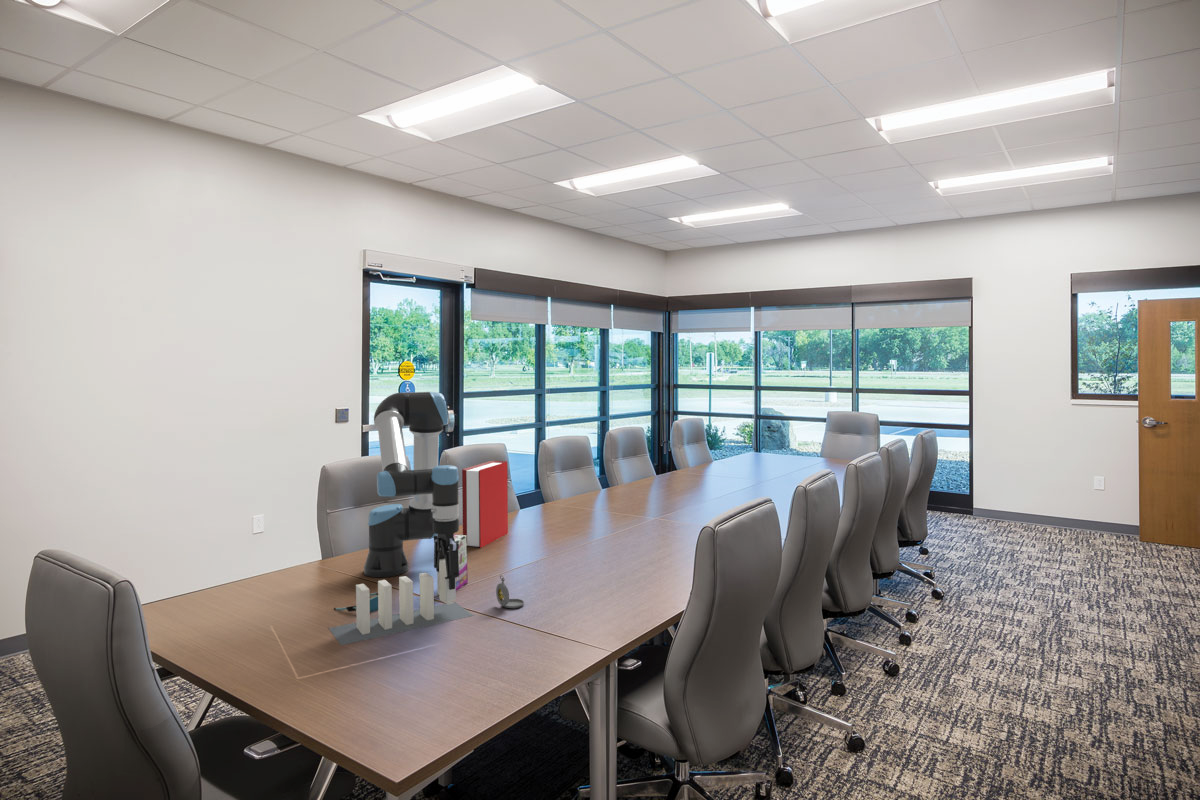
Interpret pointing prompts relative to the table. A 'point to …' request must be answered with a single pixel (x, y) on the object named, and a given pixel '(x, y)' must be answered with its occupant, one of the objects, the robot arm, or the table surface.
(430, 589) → the domino
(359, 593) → the domino
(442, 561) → the domino
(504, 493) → the book
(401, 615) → the domino
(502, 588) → the pocket watch
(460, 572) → the candy bar box
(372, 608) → the sunglasses
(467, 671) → the table surface
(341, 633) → the mat
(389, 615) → the domino
